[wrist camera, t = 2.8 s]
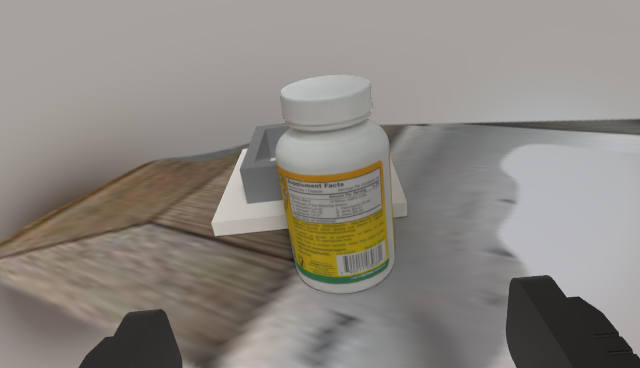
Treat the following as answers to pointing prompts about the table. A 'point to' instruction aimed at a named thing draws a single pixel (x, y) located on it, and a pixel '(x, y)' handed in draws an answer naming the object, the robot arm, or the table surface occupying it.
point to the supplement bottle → (336, 184)
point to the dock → (267, 189)
